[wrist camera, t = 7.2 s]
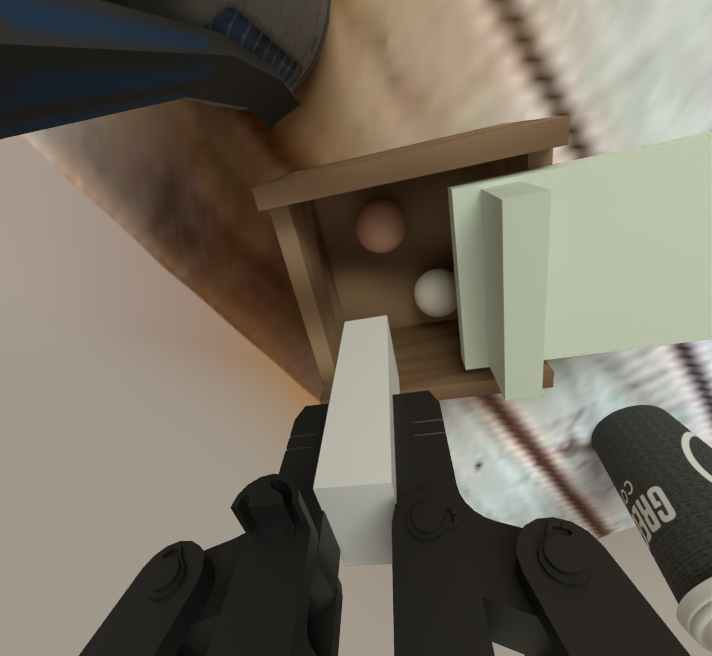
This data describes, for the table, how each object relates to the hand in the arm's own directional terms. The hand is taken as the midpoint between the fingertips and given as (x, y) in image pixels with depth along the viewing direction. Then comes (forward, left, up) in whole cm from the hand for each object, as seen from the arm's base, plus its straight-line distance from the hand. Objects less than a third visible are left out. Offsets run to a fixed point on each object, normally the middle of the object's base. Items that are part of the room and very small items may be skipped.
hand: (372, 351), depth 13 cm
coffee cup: (+20, +19, -14) cm, 31 cm away
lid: (+1, +11, -7) cm, 12 cm away
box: (+1, +2, -14) cm, 14 cm away
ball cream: (+3, +4, -11) cm, 12 cm away
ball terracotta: (-2, +1, -11) cm, 11 cm away
